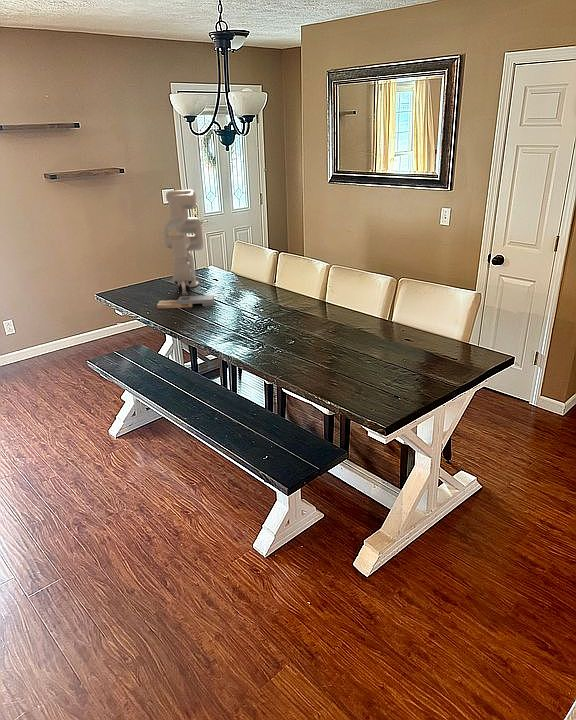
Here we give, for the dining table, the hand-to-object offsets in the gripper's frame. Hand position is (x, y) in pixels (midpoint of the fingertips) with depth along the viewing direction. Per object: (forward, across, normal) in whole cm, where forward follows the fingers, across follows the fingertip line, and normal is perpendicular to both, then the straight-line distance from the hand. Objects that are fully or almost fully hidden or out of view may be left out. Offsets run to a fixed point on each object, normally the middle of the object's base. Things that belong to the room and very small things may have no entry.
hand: (184, 291), depth 311 cm
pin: (+2, 0, 0) cm, 2 cm away
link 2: (+8, -6, 0) cm, 10 cm away
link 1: (+8, +6, 0) cm, 10 cm away
